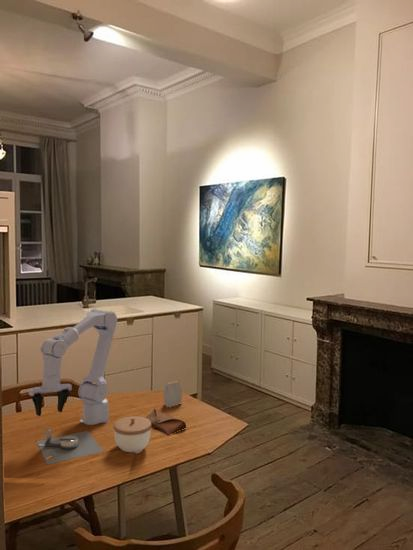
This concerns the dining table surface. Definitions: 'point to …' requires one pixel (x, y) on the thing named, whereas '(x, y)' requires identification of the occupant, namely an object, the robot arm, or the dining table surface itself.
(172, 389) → the blue-gray rectangular block
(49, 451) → the grey square mat
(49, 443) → the grey piece
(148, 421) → the lidded bowl
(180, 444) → the dining table surface
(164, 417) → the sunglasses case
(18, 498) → the dining table surface
